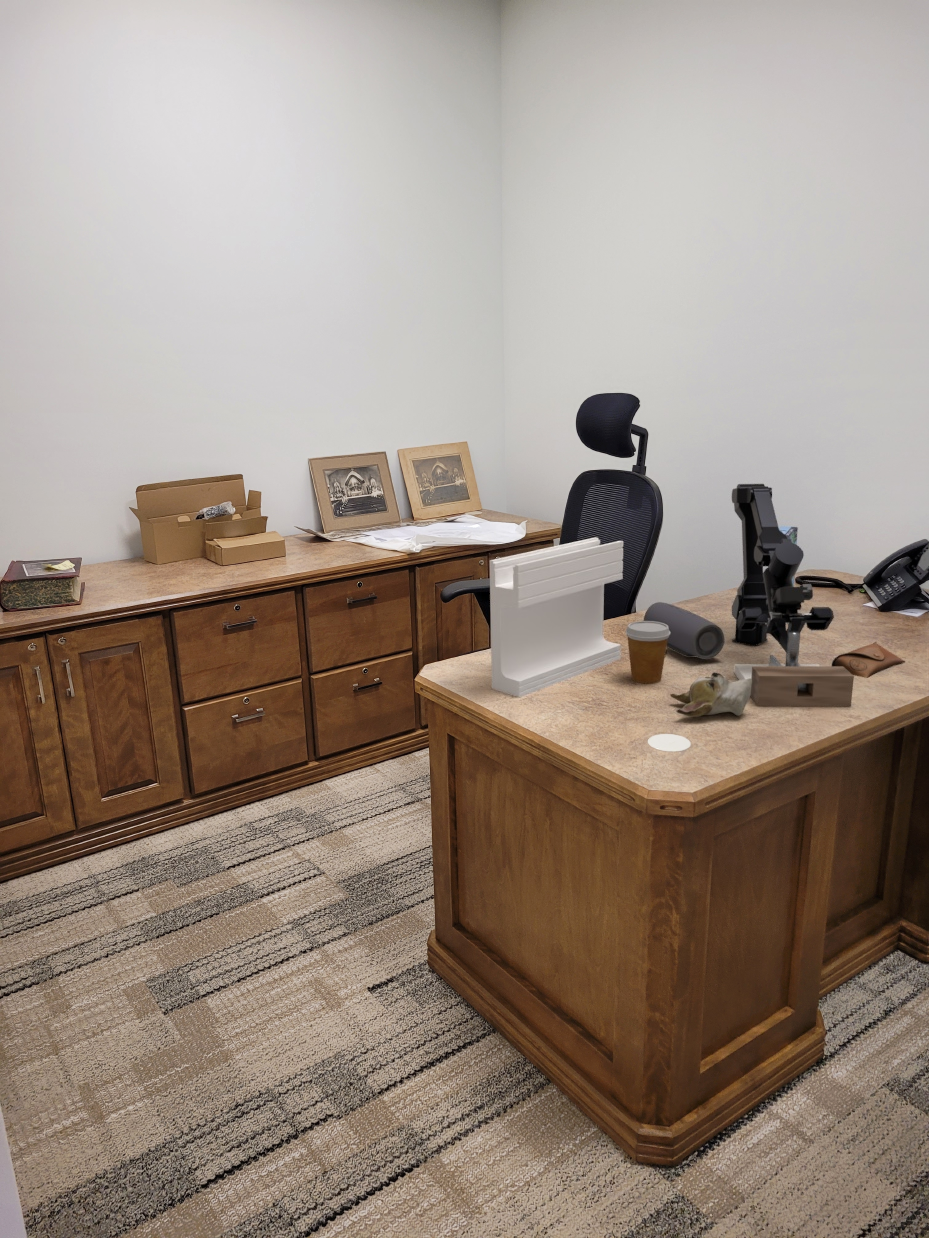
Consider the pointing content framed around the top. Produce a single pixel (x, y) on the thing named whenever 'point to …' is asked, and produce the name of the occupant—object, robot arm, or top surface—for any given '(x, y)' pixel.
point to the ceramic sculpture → (715, 696)
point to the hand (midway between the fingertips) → (790, 654)
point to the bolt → (793, 652)
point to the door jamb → (783, 682)
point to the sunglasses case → (867, 660)
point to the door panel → (746, 669)
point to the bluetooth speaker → (687, 631)
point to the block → (551, 614)
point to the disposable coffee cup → (647, 650)
